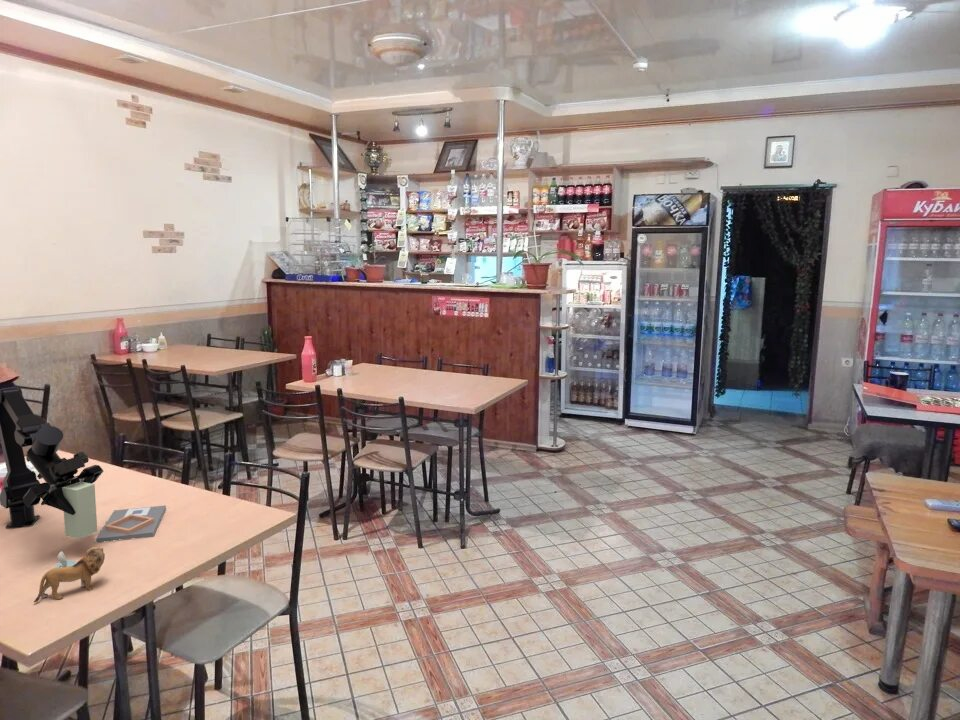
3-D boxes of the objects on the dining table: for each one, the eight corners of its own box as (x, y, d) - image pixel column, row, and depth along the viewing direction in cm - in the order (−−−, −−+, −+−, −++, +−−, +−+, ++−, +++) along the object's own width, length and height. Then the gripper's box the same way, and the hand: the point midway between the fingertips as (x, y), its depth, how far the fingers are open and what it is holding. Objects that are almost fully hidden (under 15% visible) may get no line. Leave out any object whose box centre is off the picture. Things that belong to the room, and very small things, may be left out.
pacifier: (83, 565, 156) (55, 571, 152) (82, 542, 155) (53, 547, 152) (85, 577, 150) (55, 584, 147) (84, 553, 149) (54, 559, 146)
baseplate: (114, 514, 186) (114, 509, 186) (166, 509, 190) (165, 504, 190) (96, 542, 167) (95, 537, 167) (153, 536, 172) (153, 531, 171)
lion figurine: (102, 576, 150) (99, 541, 149) (110, 583, 147) (107, 548, 146) (30, 600, 139) (26, 563, 138) (37, 609, 136) (33, 571, 135)
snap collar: (105, 529, 173) (104, 525, 172) (131, 517, 181) (130, 513, 180) (129, 534, 170) (128, 530, 170) (154, 522, 178) (154, 518, 178)
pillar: (65, 535, 160) (62, 487, 158) (83, 528, 164) (80, 481, 162) (79, 539, 158) (76, 490, 156) (97, 531, 163) (94, 484, 161)
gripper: (26, 456, 150) (64, 505, 148) (95, 435, 167) (129, 479, 166) (6, 482, 154) (43, 531, 152) (76, 460, 171) (109, 503, 169)
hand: (83, 509), depth 160 cm, fingers closed on pillar, 5 cm apart
